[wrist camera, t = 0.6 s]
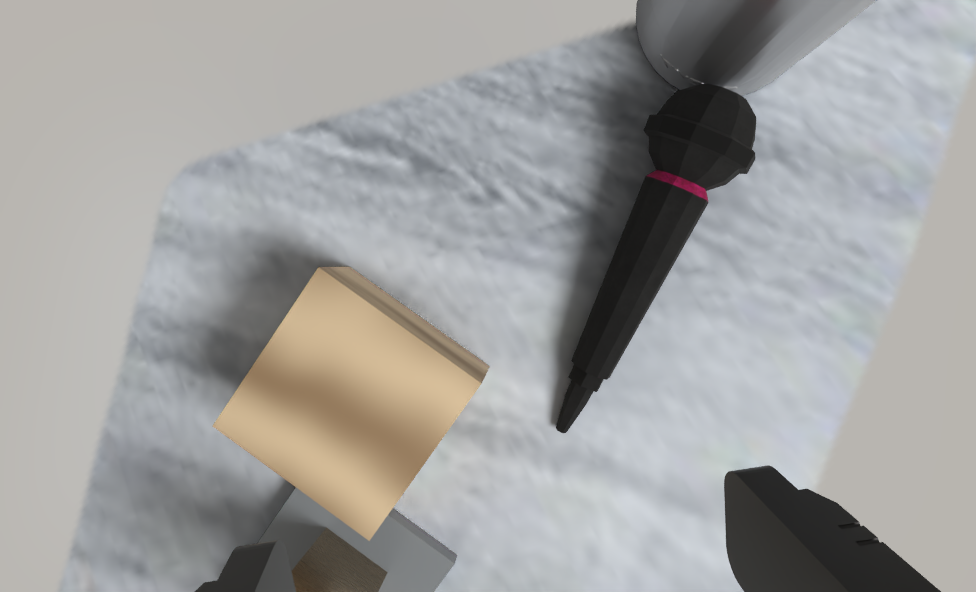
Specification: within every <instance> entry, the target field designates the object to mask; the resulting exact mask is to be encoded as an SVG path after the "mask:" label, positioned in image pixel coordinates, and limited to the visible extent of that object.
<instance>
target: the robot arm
mask: <svg viewBox="0 0 976 592" xmlns="http://www.w3.org/2000/svg"><path fill="white" fill-rule="evenodd" d="M876 1H877V0H638V1H637V9H636V25H637V31H638V37H639V41H640V44H641V46H642V48H643V51H644V53H645V56H646V58H647V59H648V60H649V62H650V63H651V65H652V66H653V68H654V69H655V71H656V72H657V73H659V74H660V75H661V76H662V77H663V78H664V79H665V80H666V81H667V82H668V83H670V84H671V85H673V86H675V87H677V88H678V89H680V90H682V89H685V88H689V87H692V86H695V85H699V84H706V83H708V84H712V85H717V86H721V87H724V88H726V89H728V90H731V91H733V92H736V93H738V94H739V95H741V96H743V95H746V94H749V93H752V92H755V91H757V90H759V89H761V88H762V87H764V86H766V85H768V84H769V83H771V82H773V81H774V80H775V79H777V78H778V77H779V76H780V75H782V74H783V73H784V72H786V71H787V70H788V69H789V68H791V67H792V66H793V65H794V64H796V63H797V62H798V61H800V60H801V59H802V58H804V57H805V56H806V55H808V54H809V53H810V52H812V51H813V50H814V49H815V48H817V47H818V46H819V45H821V44H822V43H823V42H824V41H826V40H827V39H828V38H830V37H831V36H832V35H833V34H835V33H836V32H837V31H839V30H840V29H841V28H842V27H844V26H845V25H846V24H847V23H849V22H850V21H851V20H853V19H854V18H855V17H856V16H858V15H859V14H860V13H862V12H863V11H864V10H865V9H867V8H868V7H869V6H871V5H872V4H873V3H874V2H876ZM724 491H725V521H726V547H727V554H728V558H729V562H730V565H731V568H732V571H733V573H734V576H735V578H736V580H737V581H738V583H739V585H740V586H741V588H742V589H743V590H744V592H941V591H940V590H938V589H937V588H936V587H935V586H934V585H932V584H931V583H930V582H929V581H928V580H927V579H925V578H924V577H923V576H922V575H921V574H920V573H918V572H917V571H916V570H915V569H914V568H912V567H911V566H910V565H909V564H908V563H907V562H905V561H904V560H903V559H902V558H901V557H899V556H898V555H897V554H896V553H895V552H894V551H892V550H891V549H890V548H889V547H888V546H887V545H886V544H884V543H883V542H881V543H880V542H879V540H878V538H877V537H876V536H875V535H874V534H873V533H871V532H870V531H869V530H868V529H867V528H866V527H864V526H860V524H859V522H858V521H857V520H856V519H855V518H854V517H853V516H852V515H850V514H849V513H848V512H847V511H846V510H844V509H843V508H842V507H841V506H840V505H839V504H837V503H836V502H834V501H831V500H829V499H827V498H825V497H823V496H821V495H819V494H817V493H815V492H813V491H811V490H809V489H802V490H798V489H797V488H796V487H794V486H793V485H792V484H791V483H790V482H789V481H788V480H787V479H786V478H785V477H783V476H782V475H781V474H780V473H779V472H778V471H777V470H776V469H774V468H773V467H771V466H762V467H755V468H749V469H743V470H736V471H730V472H728V473H727V474H726V476H725V481H724ZM195 592H296V590H295V585H294V581H293V576H292V572H291V567H290V563H289V558H288V554H287V550H286V547H285V545H284V543H283V542H282V541H281V540H278V541H271V542H265V543H258V544H252V545H245V546H239V547H236V548H235V549H234V550H233V552H232V554H231V556H230V558H229V560H228V561H227V563H226V565H225V567H224V569H223V571H222V573H221V575H220V577H219V579H218V581H212V582H205V583H203V584H202V585H201V586H200V587H199V588H198V589H197V590H196V591H195Z"/></svg>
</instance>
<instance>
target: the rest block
mask: <svg viewBox="0 0 976 592" xmlns="http://www.w3.org/2000/svg"><path fill="white" fill-rule="evenodd" d="M489 367H490V366H488V365H487V364H486V363H484V362H483V361H481V360H480V359H479V358H477V357H476V356H474V355H473V354H472V353H470V352H469V351H467V350H466V349H465V348H463V347H462V346H460V345H459V344H458V343H456V342H455V341H453V340H452V339H450V338H449V337H448V336H446V335H445V334H443V333H442V332H441V331H439V330H438V329H436V328H435V327H434V326H432V325H431V324H429V323H428V322H427V321H425V320H424V319H422V318H421V317H420V316H418V315H417V314H415V313H414V312H413V311H411V310H410V309H408V308H407V307H406V306H404V305H403V304H401V303H400V302H399V301H397V300H396V299H394V298H393V297H392V296H390V295H389V294H387V293H386V292H384V291H383V290H382V289H380V288H379V287H377V286H376V285H375V284H373V283H372V282H370V281H369V280H368V279H366V278H365V277H363V276H362V275H361V274H359V273H358V272H356V271H355V270H354V269H352V268H351V267H318V269H317V270H316V272H315V273H314V275H313V276H312V278H311V279H310V281H309V282H308V284H307V285H306V287H305V288H304V290H303V291H302V293H301V294H300V296H299V297H298V299H297V300H296V302H295V303H294V305H293V306H292V308H291V309H290V311H289V312H288V314H287V315H286V317H285V318H284V320H283V321H282V323H281V324H280V326H279V327H278V329H277V330H276V332H275V333H274V335H273V336H272V338H271V339H270V341H269V342H268V344H267V345H266V347H265V348H264V350H263V351H262V353H261V354H260V356H259V357H258V359H257V360H256V362H255V363H254V365H253V366H252V368H251V369H250V371H249V372H248V374H247V375H246V377H245V378H244V380H243V381H242V383H241V384H240V386H239V387H238V389H237V390H236V392H235V393H234V395H233V396H232V398H231V399H230V401H229V402H228V404H227V405H226V407H225V408H224V410H223V411H222V413H221V414H220V416H219V417H218V419H217V420H216V422H215V423H214V425H213V427H214V428H216V429H217V430H218V431H220V432H221V433H223V434H224V435H225V436H227V437H228V438H229V439H231V440H232V441H233V442H235V443H236V444H238V445H239V446H240V447H242V448H243V449H244V450H246V451H247V452H248V453H250V454H251V455H253V456H254V457H255V458H257V459H258V460H259V461H261V462H262V463H263V464H265V465H266V466H268V467H269V468H270V469H272V470H273V471H274V472H276V473H277V474H279V475H280V476H281V477H283V478H284V479H285V480H287V481H288V482H289V483H291V484H292V485H294V486H295V487H296V488H298V489H299V490H300V491H302V492H303V493H304V494H306V495H307V496H309V497H310V498H311V499H313V500H314V501H315V502H317V503H318V504H319V505H321V506H322V507H324V508H325V509H326V510H328V511H329V512H330V513H332V514H333V515H334V516H336V517H337V518H339V519H340V520H341V521H343V522H344V523H345V524H347V525H348V526H349V527H351V528H352V529H354V530H355V531H356V532H358V533H359V534H360V535H362V536H363V537H364V538H366V539H367V540H369V541H370V539H371V538H372V537H373V535H374V534H375V532H376V531H377V530H378V528H379V527H380V525H381V524H382V523H383V521H384V520H385V518H386V517H387V516H388V514H389V513H390V511H391V510H392V508H393V507H394V506H395V504H396V503H397V501H398V500H399V499H400V497H401V496H402V494H403V493H404V492H405V490H406V489H407V487H408V486H409V485H410V483H411V482H412V480H413V479H414V478H415V476H416V475H417V473H418V472H419V471H420V469H421V468H422V466H423V465H424V464H425V462H426V461H427V459H428V458H429V456H430V455H431V454H432V452H433V451H434V449H435V448H436V447H437V445H438V444H439V442H440V441H441V440H442V438H443V437H444V435H445V434H446V433H447V431H448V430H449V428H450V427H451V426H452V424H453V423H454V421H455V420H456V419H457V417H458V416H459V414H460V413H461V412H462V410H463V409H464V407H465V406H466V404H467V403H468V402H469V400H470V399H471V397H472V396H473V395H474V393H475V392H476V390H477V389H478V388H479V386H480V385H481V383H482V381H483V379H484V377H485V375H486V373H487V371H488V369H489Z"/></svg>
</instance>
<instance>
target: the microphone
mask: <svg viewBox="0 0 976 592" xmlns="http://www.w3.org/2000/svg"><path fill="white" fill-rule="evenodd" d="M755 130H756V116H755V114H754V113H753V111H752V109H751V107H750V105H749V104H748V102H747V100H746V99H745V98H743V97H742V96H741V95H739V94H738V93H736V92H733V91H731V90H728V89H726V88H724V87H721V86H717V85H712V84H708V83H706V84H699V85H695V86H692V87H689V88H685V89H682V90H679V91H677V92H676V93H675V94H674V95H673V96H672V97H671V98H670V99H669V100H668V101H667V102H666V103H665V104H664V106H663V107H662V108H661V110H660V111H659V113H658V114H657V115H650V116H649V118H648V121H647V123H646V126H645V128H644V131H645V133H646V134H647V135H648V137H649V153H650V156H651V158H652V160H653V163H654V165H655V167H656V169H657V170H656V171H654V172H652V173H650V174H649V175H647V176H646V177H645V179H644V182H643V184H642V187H641V189H640V192H639V194H638V197H637V199H636V202H635V204H634V207H633V209H632V212H631V214H630V217H629V219H628V221H627V224H626V226H625V229H624V231H623V234H622V236H621V239H620V241H619V244H618V246H617V249H616V251H615V254H614V256H613V259H612V261H611V264H610V266H609V269H608V271H607V274H606V276H605V279H604V281H603V283H602V286H601V288H600V291H599V293H598V296H597V298H596V301H595V303H594V306H593V308H592V311H591V313H590V316H589V318H588V321H587V323H586V326H585V328H584V331H583V333H582V336H581V338H580V341H579V343H578V345H577V348H576V350H575V353H574V355H573V358H572V360H571V361H572V362H573V363H574V366H573V368H572V370H571V373H570V375H569V378H570V379H571V383H570V385H569V388H568V390H567V392H566V395H565V399H564V402H563V405H562V409H561V412H560V415H559V419H558V422H557V426H556V429H557V430H558V431H560V432H561V433H566V432H567V431H568V429H569V428H570V426H571V425H572V424H573V422H574V421H575V419H576V418H577V417H578V415H579V414H580V412H581V411H582V409H583V408H584V407H585V405H586V403H587V402H588V400H589V398H590V396H591V395H592V393H593V391H595V392H597V391H598V389H599V387H600V385H601V383H602V381H603V379H606V380H607V379H608V378H609V377H610V376H611V374H612V372H613V370H614V369H615V367H616V365H617V363H618V362H619V360H620V358H621V356H622V354H623V353H624V351H625V349H626V347H627V346H628V344H629V342H630V340H631V339H632V337H633V335H634V333H635V331H636V330H637V328H638V326H639V324H640V323H641V321H642V319H643V317H644V316H645V314H646V312H647V310H648V308H649V307H650V305H651V303H652V301H653V300H654V298H655V296H656V294H657V293H658V291H659V289H660V287H661V285H662V284H663V282H664V280H665V278H666V277H667V275H668V273H669V271H670V270H671V268H672V266H673V264H674V263H675V261H676V259H677V257H678V255H679V254H680V252H681V250H682V248H683V247H684V245H685V243H686V241H687V240H688V238H689V236H690V234H691V232H692V231H693V229H694V227H695V225H696V224H697V222H698V220H699V218H700V217H701V215H702V213H703V211H704V209H705V208H706V206H707V204H708V198H707V193H706V191H707V190H710V189H713V188H716V187H719V186H723V185H726V184H727V183H728V182H729V181H731V180H732V179H733V178H734V177H736V176H737V175H738V174H739V173H740V174H747V173H748V171H749V169H750V167H751V166H752V164H753V162H754V160H755V152H754V151H753V150H752V147H753V143H754V140H755Z"/></svg>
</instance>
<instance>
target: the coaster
mask: <svg viewBox="0 0 976 592" xmlns="http://www.w3.org/2000/svg"><path fill="white" fill-rule="evenodd" d="M326 527H327V528H328V529H329V530H331V531H332V532H333V533H335V534H336V535H338V536H339V537H340V538H342V539H343V540H344V541H346V542H347V543H348V544H350V545H351V546H352V547H354V548H355V549H357V550H358V551H359V552H361V553H362V554H363V555H365V556H366V557H367V558H369V559H370V560H372V561H373V562H374V563H376V564H377V565H378V566H380V567H381V568H382V569H384V570H385V571H387V572H388V573H387V575H386V577H385V579H384V581H383V583H382V585H381V587H380V589H379V591H378V592H434V591H435V590H436V588H437V587H438V586H439V584H440V583H441V582H442V580H443V579H444V577H445V576H446V575H447V573H448V572H449V571H450V569H451V568H452V566H453V565H454V564H455V560H456V557H457V555H456V554H455V553H453V552H452V551H450V550H449V549H448V548H446V547H445V546H444V545H442V544H441V543H439V542H438V541H437V540H435V539H434V538H433V537H431V536H430V535H428V534H427V533H426V532H424V531H423V530H422V529H420V528H419V527H418V526H416V525H415V524H413V523H412V522H411V521H409V520H408V519H407V518H405V517H404V516H402V515H401V514H400V513H398V512H397V511H396V510H394V509H393V508H392V510H391V511H390V513H389V514H388V516H387V517H386V518H385V520H384V521H383V523H382V524H381V525H380V527H379V528H378V530H377V531H376V532H375V534H374V535H373V537H372V538H371V539H370V541H369V540H367V539H366V538H364V537H363V536H362V535H360V534H359V533H358V532H356V531H355V530H354V529H352V528H351V527H349V526H348V525H347V524H345V523H344V522H343V521H341V520H340V519H339V518H337V517H336V516H334V515H333V514H332V513H330V512H329V511H328V510H326V509H325V508H324V507H322V506H321V505H319V504H318V503H317V502H315V501H314V500H313V499H311V498H310V497H309V496H307V495H306V494H304V493H303V492H302V491H300V490H299V489H298V488H295V489H294V491H293V492H292V494H291V495H290V497H289V498H288V499H287V501H286V502H285V504H284V505H283V507H282V508H281V510H280V511H279V513H278V514H277V515H276V517H275V518H274V520H273V521H272V523H271V524H270V526H269V527H268V528H267V530H266V531H265V533H264V534H263V536H262V537H261V539H260V540H259V542H258V543H265V542H271V541H278V540H281V541H282V542H283V543H284V545H285V547H286V550H287V554H288V558H289V563H290V567H291V571H292V570H293V568H294V567H295V566H296V565H297V563H298V562H299V561H300V560H301V558H302V557H303V556H304V555H305V553H306V552H307V551H308V550H309V548H310V547H311V546H312V545H313V544H314V542H315V541H316V540H317V539H318V537H319V536H320V535H321V534H322V532H323V531H324V530H325V529H326ZM258 543H257V544H258Z"/></svg>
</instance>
